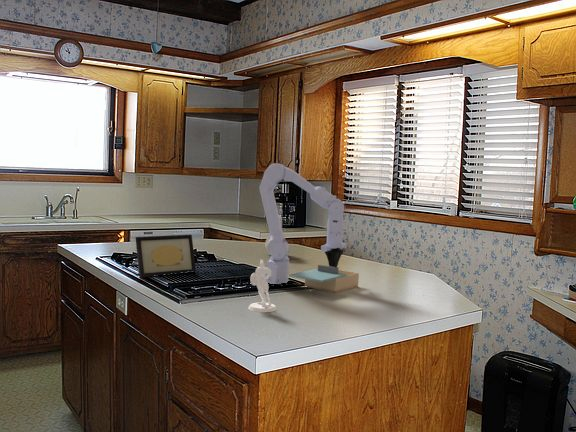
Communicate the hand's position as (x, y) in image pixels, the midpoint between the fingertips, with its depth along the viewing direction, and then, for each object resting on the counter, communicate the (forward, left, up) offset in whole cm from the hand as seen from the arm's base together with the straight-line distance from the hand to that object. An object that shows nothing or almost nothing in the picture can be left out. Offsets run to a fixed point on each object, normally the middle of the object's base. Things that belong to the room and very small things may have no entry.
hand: (332, 269), depth 212 cm
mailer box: (0, 0, -6) cm, 6 cm away
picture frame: (-30, +57, -7) cm, 65 cm away
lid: (-10, 0, -1) cm, 10 cm away
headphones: (+40, +57, -7) cm, 70 cm away
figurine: (-44, -3, -7) cm, 45 cm away
